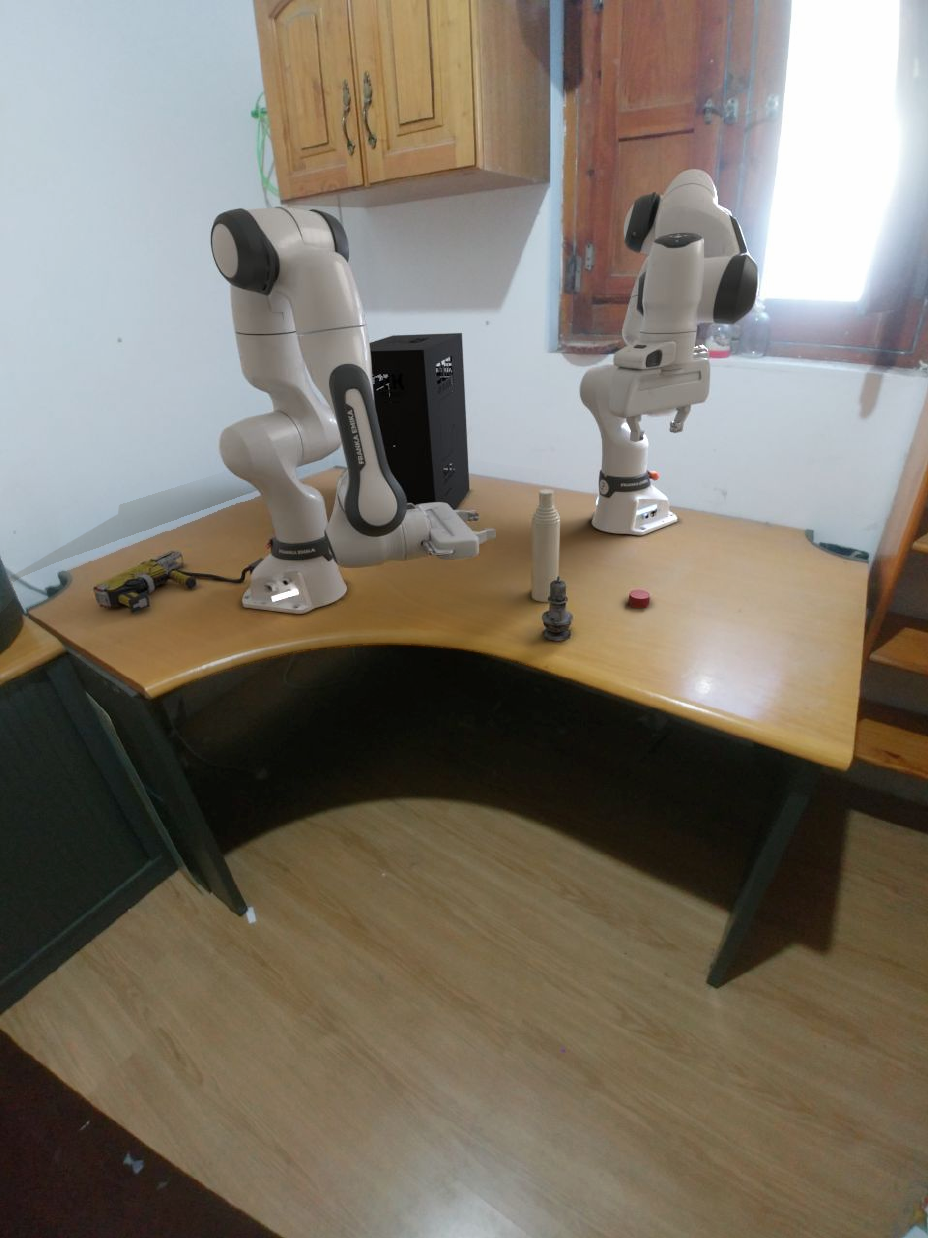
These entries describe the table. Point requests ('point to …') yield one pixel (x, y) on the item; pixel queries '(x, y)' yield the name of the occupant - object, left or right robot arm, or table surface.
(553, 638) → the grey stepped cylinder
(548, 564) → the bottle
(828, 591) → the table surface
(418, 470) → the black tall box
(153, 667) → the table surface
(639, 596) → the cap
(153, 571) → the toy gun
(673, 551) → the table surface
